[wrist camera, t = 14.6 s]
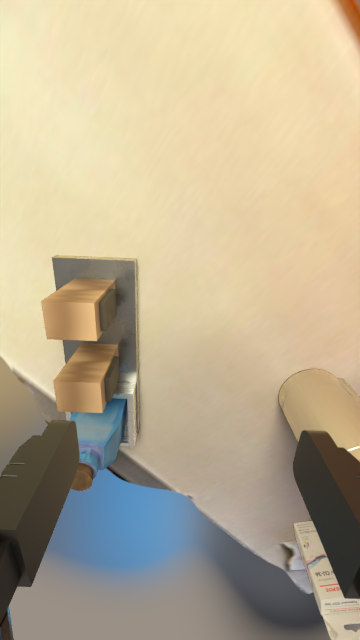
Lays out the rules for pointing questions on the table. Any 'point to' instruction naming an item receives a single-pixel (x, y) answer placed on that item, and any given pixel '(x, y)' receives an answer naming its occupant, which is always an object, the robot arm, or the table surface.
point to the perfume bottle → (98, 440)
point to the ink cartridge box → (326, 585)
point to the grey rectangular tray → (120, 329)
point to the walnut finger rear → (88, 379)
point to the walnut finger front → (80, 310)
